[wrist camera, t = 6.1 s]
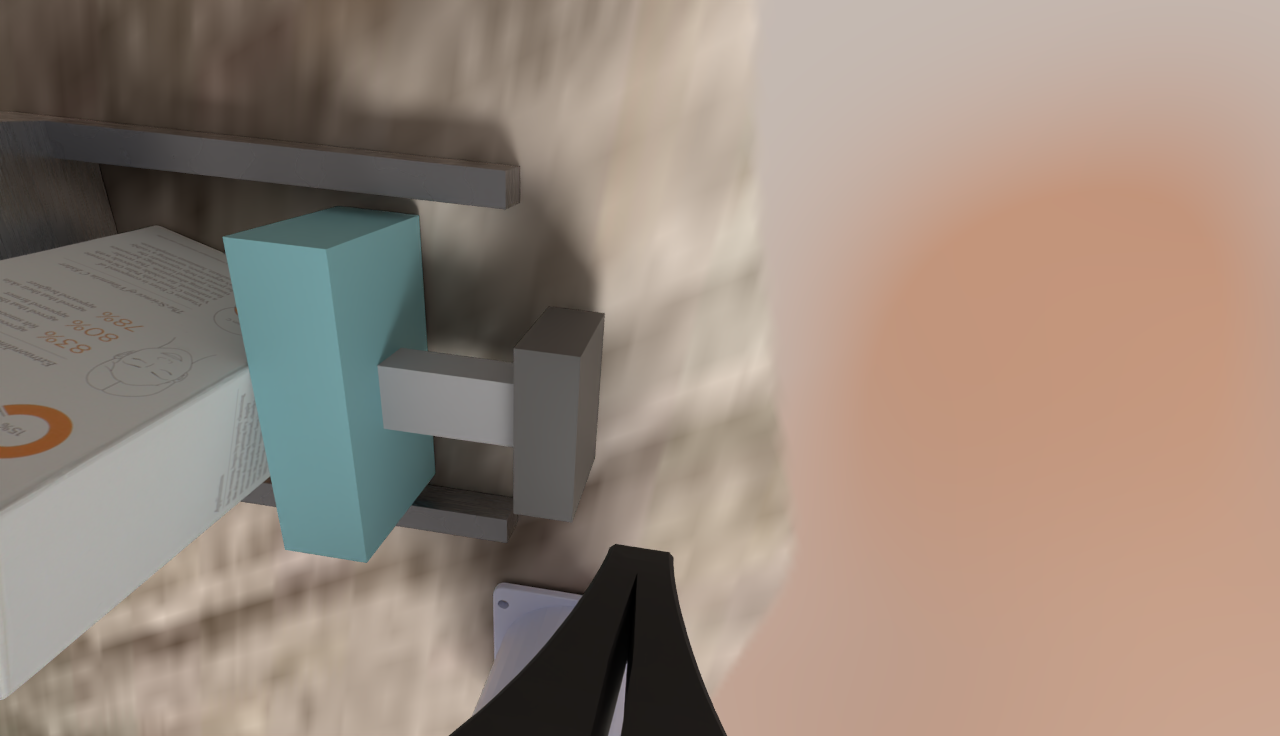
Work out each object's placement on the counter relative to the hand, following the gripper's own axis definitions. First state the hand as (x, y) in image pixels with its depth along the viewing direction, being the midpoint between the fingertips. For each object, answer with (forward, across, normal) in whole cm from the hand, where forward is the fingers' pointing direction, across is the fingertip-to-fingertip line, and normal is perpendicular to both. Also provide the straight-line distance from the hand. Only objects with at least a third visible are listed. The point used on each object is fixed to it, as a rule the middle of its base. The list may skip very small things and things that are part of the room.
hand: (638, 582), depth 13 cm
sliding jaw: (+10, +8, 0) cm, 13 cm away
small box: (+11, +17, 0) cm, 20 cm away
